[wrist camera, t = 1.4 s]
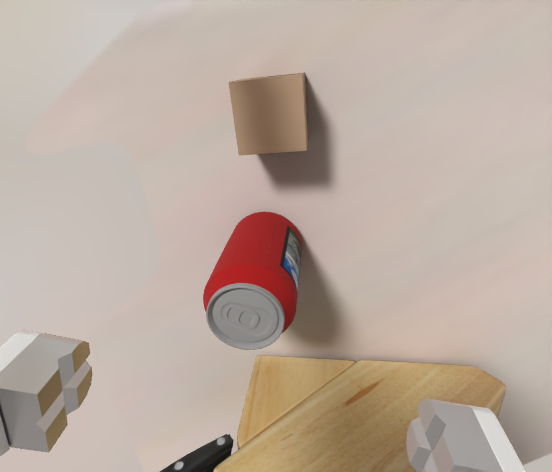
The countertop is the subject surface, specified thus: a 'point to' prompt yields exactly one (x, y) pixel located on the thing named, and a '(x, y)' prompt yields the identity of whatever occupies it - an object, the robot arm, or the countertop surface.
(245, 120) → the walnut block
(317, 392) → the knife block
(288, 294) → the beverage can
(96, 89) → the countertop surface
